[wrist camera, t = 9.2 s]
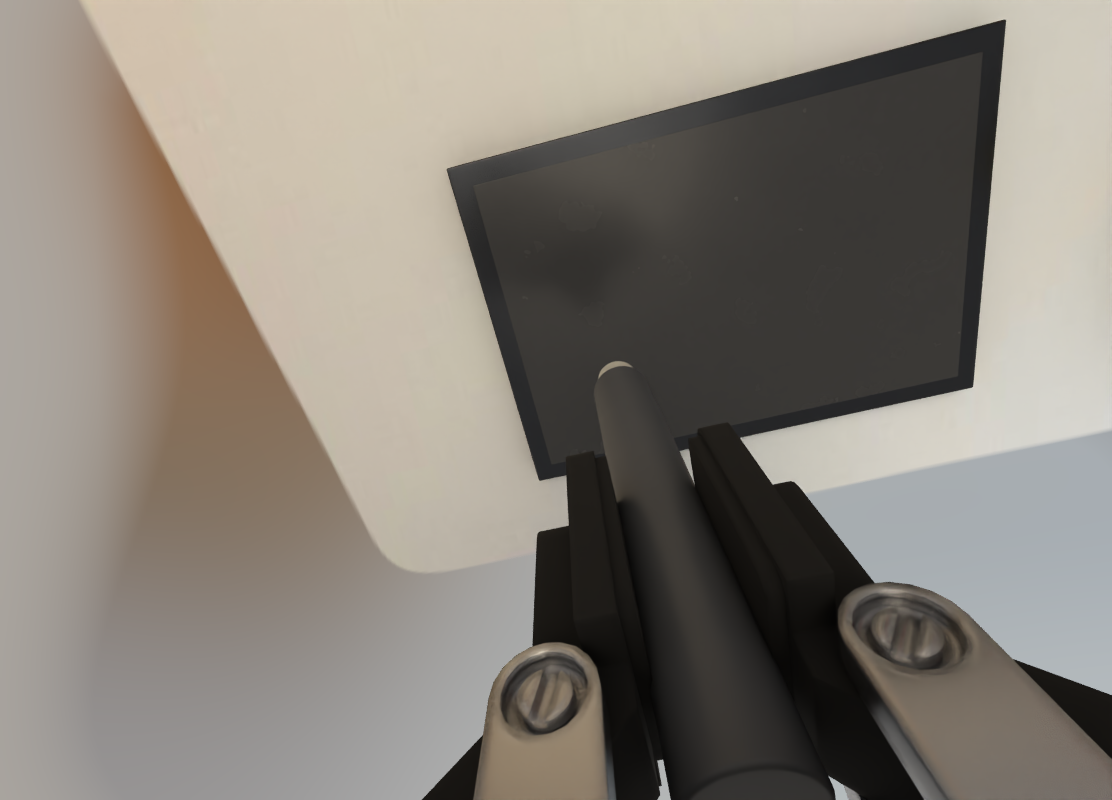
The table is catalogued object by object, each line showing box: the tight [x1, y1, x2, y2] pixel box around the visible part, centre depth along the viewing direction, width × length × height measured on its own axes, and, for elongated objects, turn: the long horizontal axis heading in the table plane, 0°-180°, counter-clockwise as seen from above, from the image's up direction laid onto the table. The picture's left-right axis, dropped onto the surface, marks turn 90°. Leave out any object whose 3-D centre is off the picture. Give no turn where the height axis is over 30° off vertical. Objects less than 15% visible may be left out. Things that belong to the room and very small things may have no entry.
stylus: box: [594, 361, 836, 800], centre depth 11 cm, size 2×2×12 cm
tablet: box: [447, 20, 1006, 481], centre depth 22 cm, size 20×14×1 cm
